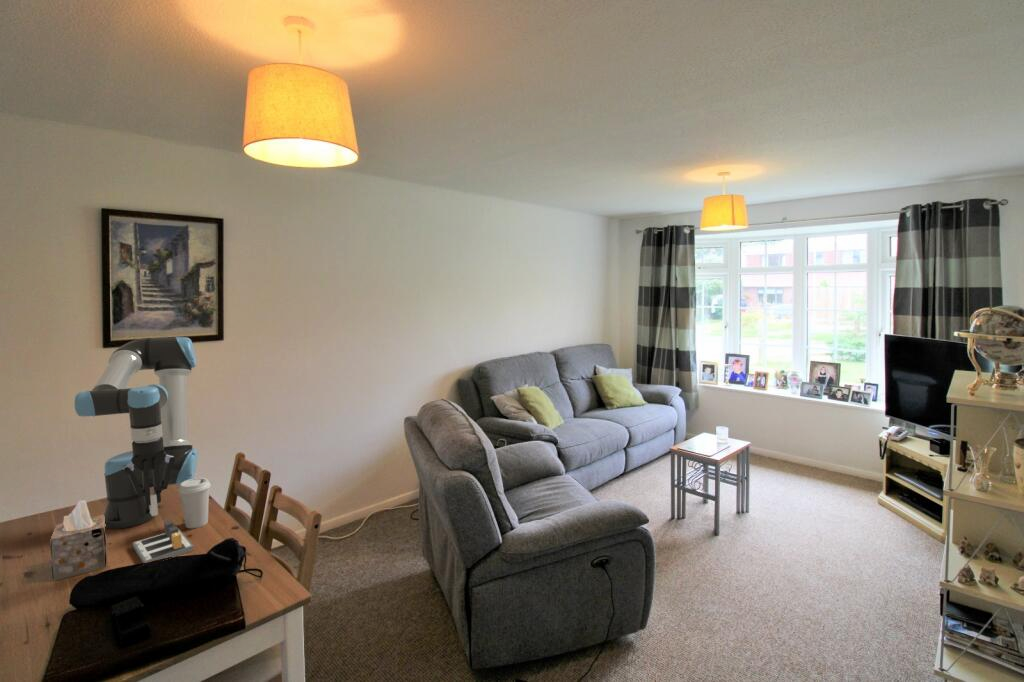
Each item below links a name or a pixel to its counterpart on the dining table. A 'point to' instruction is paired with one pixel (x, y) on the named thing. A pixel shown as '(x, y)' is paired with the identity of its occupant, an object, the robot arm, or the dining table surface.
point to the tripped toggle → (176, 540)
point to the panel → (161, 545)
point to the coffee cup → (195, 501)
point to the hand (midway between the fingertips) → (154, 513)
